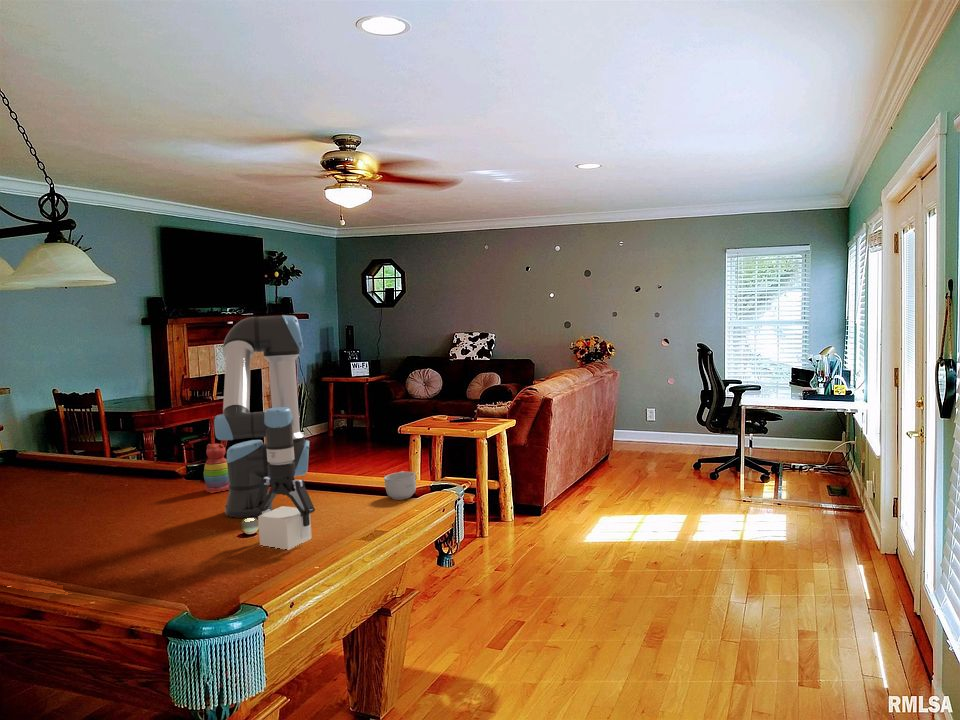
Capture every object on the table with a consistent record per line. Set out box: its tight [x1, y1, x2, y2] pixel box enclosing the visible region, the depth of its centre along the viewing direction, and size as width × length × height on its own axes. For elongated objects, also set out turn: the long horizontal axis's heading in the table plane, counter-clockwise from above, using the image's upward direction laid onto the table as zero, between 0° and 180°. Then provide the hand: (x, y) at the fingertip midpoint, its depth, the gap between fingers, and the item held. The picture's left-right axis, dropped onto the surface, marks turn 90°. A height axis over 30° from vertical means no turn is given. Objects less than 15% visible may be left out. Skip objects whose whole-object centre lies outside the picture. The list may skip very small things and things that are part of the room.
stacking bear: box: [203, 443, 229, 491], centre depth 277 cm, size 11×10×18 cm
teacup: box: [383, 470, 417, 501], centre depth 257 cm, size 14×11×8 cm
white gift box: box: [257, 505, 312, 551], centre depth 212 cm, size 10×10×9 cm
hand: (286, 534), depth 212 cm, fingers open, 13 cm apart
